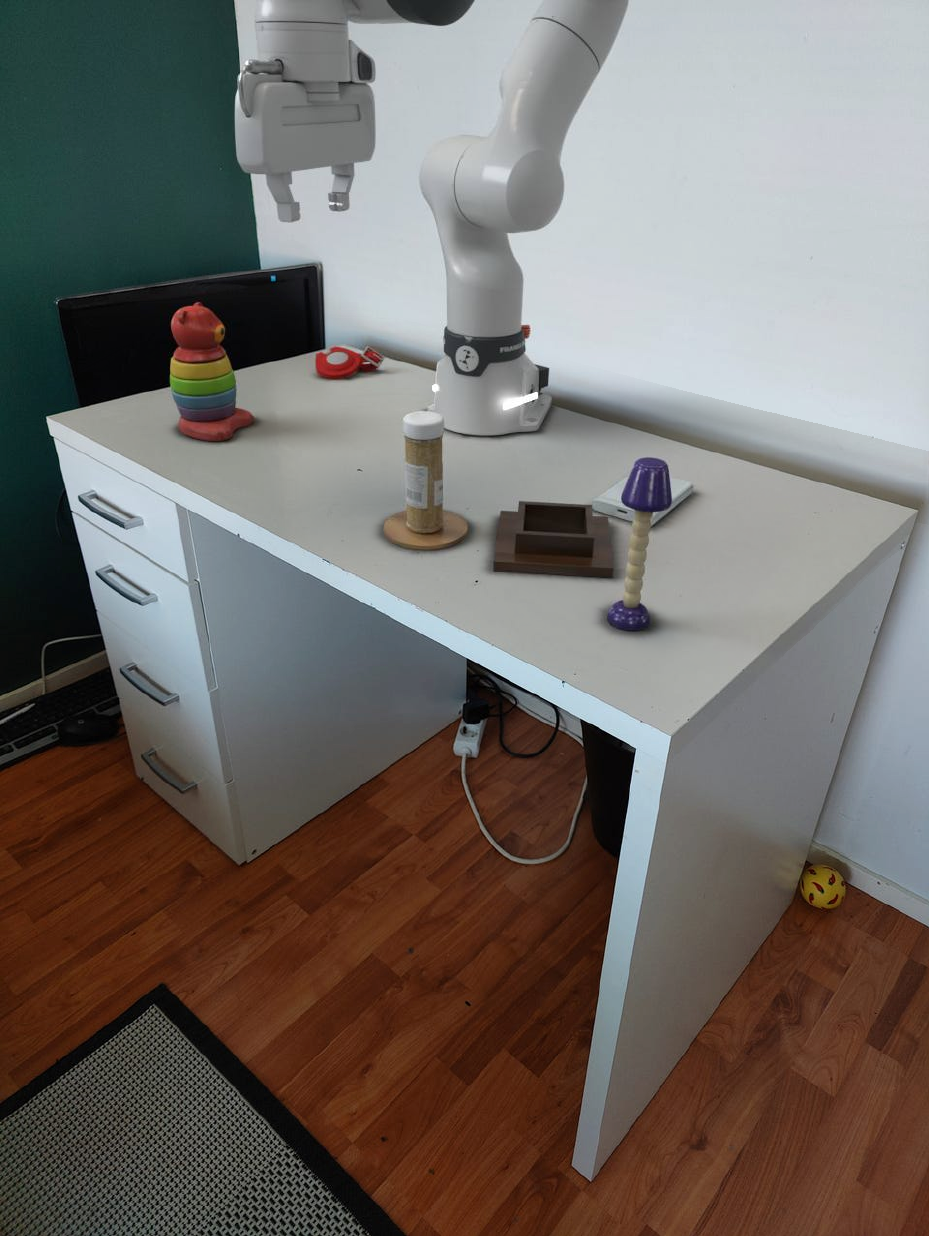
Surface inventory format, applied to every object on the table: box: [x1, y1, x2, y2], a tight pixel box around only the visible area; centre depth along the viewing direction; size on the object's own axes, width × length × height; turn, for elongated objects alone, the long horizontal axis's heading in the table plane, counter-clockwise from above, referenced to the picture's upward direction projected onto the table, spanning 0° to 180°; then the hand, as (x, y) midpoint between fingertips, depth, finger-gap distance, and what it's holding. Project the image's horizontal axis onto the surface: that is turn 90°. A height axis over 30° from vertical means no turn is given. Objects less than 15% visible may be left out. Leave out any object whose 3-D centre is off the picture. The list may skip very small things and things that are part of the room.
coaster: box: [383, 509, 469, 551], centre depth 102 cm, size 10×10×1 cm
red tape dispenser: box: [314, 345, 386, 380], centre depth 156 cm, size 12×4×10 cm
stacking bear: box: [169, 301, 255, 442], centre depth 126 cm, size 11×10×18 cm
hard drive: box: [592, 475, 694, 527], centre depth 110 cm, size 2×8×12 cm
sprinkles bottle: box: [402, 410, 445, 534], centre depth 99 cm, size 5×5×14 cm
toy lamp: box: [606, 456, 672, 631], centre depth 82 cm, size 5×5×17 cm
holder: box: [492, 500, 614, 578], centre depth 99 cm, size 13×13×4 cm
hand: (315, 215), depth 91 cm, fingers open, 8 cm apart
